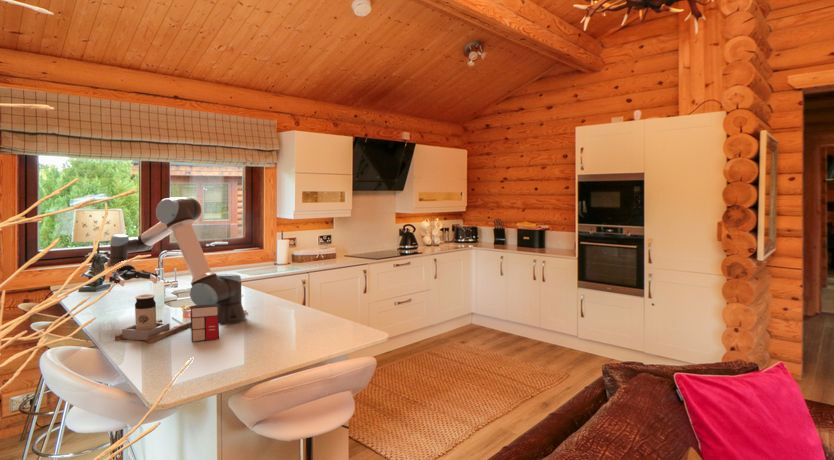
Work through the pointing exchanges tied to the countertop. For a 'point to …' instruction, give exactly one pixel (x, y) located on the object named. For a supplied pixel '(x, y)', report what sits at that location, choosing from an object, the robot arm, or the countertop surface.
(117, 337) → the switch track
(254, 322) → the countertop surface
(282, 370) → the countertop surface
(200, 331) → the cream and red box
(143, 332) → the square tray
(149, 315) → the travel mug
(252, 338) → the countertop surface
